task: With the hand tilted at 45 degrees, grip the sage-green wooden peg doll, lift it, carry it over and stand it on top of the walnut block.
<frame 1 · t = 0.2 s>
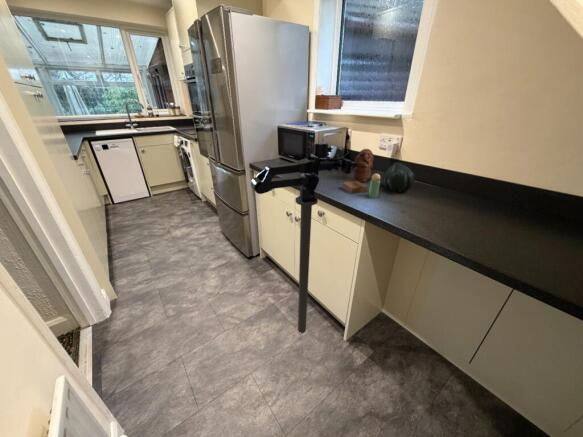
hand: (351, 161, 119), 15 cm above the counter, tool horizontal, fingers open, 9 cm apart
peg doll: (372, 196, 116), on the counter
walnut block: (353, 189, 124), on the counter
squash: (395, 189, 125), on the counter
wooden figurine: (362, 180, 138), on the counter
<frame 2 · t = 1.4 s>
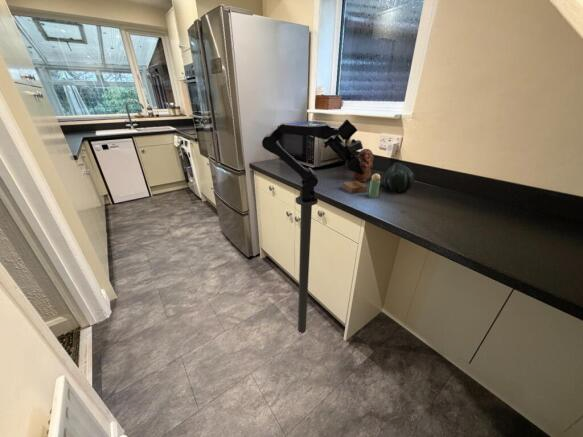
hand: (360, 171, 110), 13 cm above the counter, tool tilted 45°, fingers open, 9 cm apart
nothing on the counter moved.
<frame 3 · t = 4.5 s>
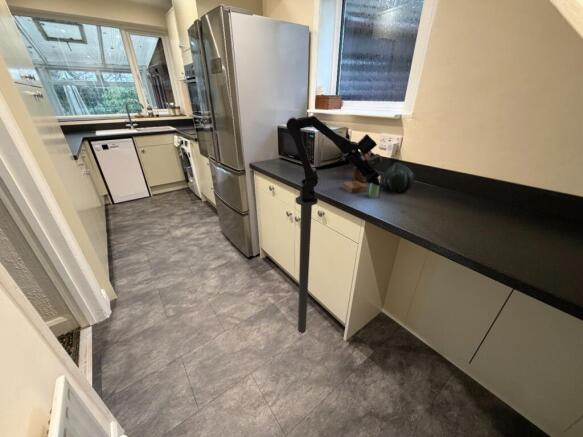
hand: (377, 183, 113), 7 cm above the counter, tool tilted 45°, fingers closed on peg doll, 4 cm apart
peg doll: (372, 196, 116), on the counter, touching gripper
everything else where it was.
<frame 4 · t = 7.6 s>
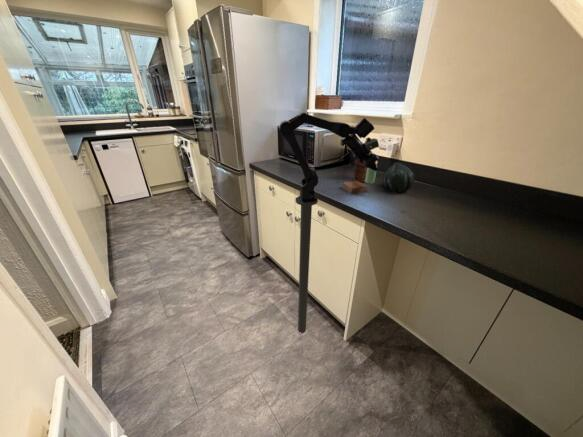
hand: (374, 168, 113), 13 cm above the counter, tool tilted 45°, fingers closed on peg doll, 4 cm apart
peg doll: (369, 181, 116), point 6 cm above the counter, touching gripper
everything else where it was.
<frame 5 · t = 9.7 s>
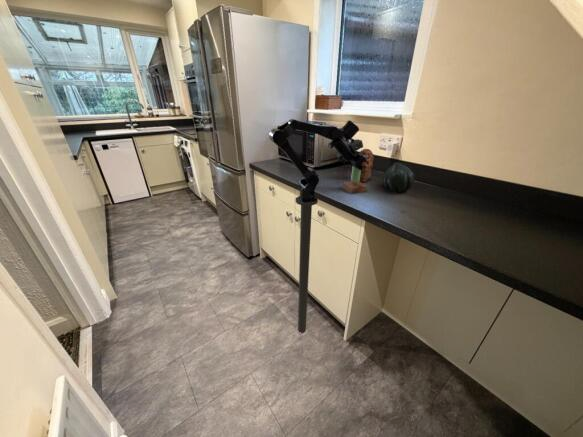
hand: (359, 168, 119), 12 cm above the counter, tool tilted 45°, fingers closed on peg doll, 4 cm apart
peg doll: (355, 180, 122), point 5 cm above the counter, touching gripper
everything else where it was.
when the fingers open (10 cm above the counter, at t = 10.9 s): peg doll stays where it is, resting on walnut block.
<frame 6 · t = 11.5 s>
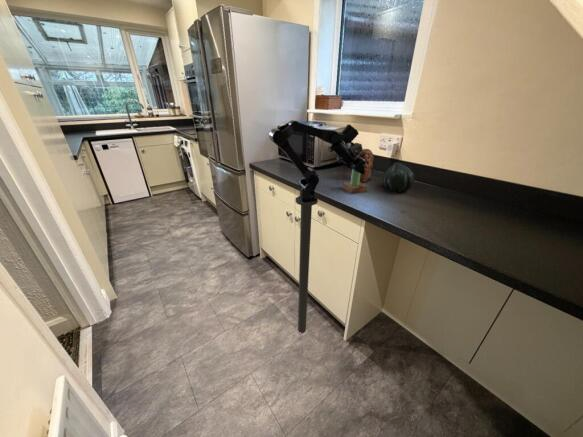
hand: (358, 171, 120), 10 cm above the counter, tool tilted 45°, fingers open, 9 cm apart
peg doll: (354, 184, 123), point 3 cm above the counter, touching walnut block
everything else where it was.
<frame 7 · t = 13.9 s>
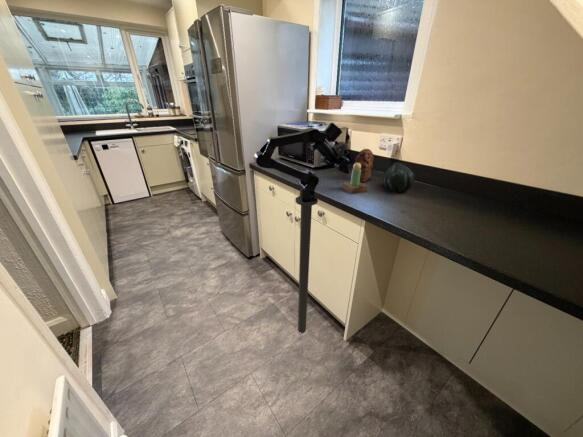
hand: (343, 170, 117), 11 cm above the counter, tool tilted 45°, fingers open, 9 cm apart
nothing on the counter moved.
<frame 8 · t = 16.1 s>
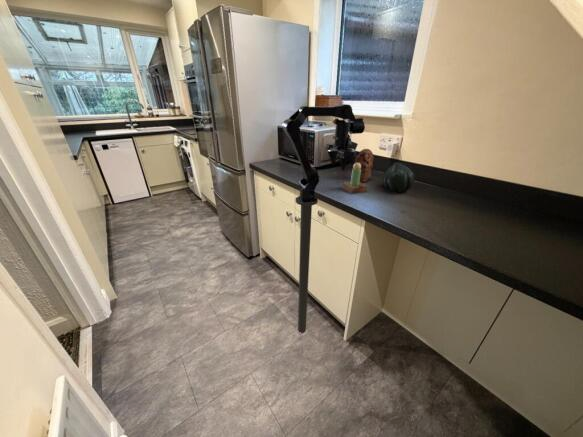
hand: (338, 167, 115), 13 cm above the counter, tool pointing down, fingers open, 9 cm apart
nothing on the counter moved.
at the end: peg doll 0.0 cm off-centre on the walnut block, point 3.0 cm above the walnut block's base; peg doll tilted 0°; the gripper is holding nothing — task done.
